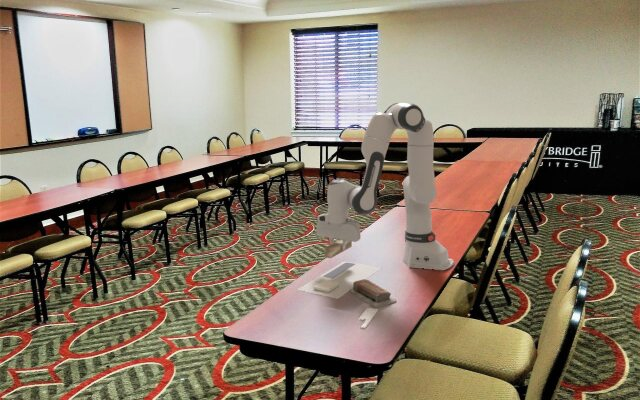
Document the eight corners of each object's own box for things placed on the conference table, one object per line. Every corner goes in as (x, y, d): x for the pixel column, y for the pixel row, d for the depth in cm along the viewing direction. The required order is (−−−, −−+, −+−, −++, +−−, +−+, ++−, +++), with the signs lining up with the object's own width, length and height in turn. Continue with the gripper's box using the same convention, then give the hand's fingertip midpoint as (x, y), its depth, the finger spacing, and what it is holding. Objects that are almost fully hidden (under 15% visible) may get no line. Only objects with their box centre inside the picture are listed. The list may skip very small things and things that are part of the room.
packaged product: (348, 281, 203) (369, 276, 208) (348, 293, 204) (369, 287, 209) (374, 296, 188) (396, 291, 192) (374, 309, 189) (396, 303, 194)
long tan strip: (351, 246, 232) (351, 238, 231) (330, 258, 217) (330, 249, 216) (345, 245, 234) (345, 237, 233) (324, 257, 219) (324, 248, 218)
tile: (339, 283, 209) (328, 289, 203) (339, 286, 210) (328, 292, 203) (324, 280, 213) (313, 286, 206) (324, 282, 213) (313, 289, 207)
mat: (381, 268, 228) (381, 267, 228) (337, 299, 197) (337, 298, 197) (344, 262, 239) (344, 261, 238) (296, 290, 207) (296, 289, 207)
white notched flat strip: (350, 327, 175) (350, 324, 175) (364, 310, 189) (364, 307, 189) (365, 329, 173) (365, 326, 173) (378, 311, 187) (378, 308, 187)
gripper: (363, 218, 219) (363, 250, 222) (321, 213, 230) (322, 243, 233) (355, 222, 214) (356, 254, 217) (314, 216, 225) (314, 247, 228)
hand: (338, 248), depth 225 cm, fingers closed on long tan strip, 3 cm apart
